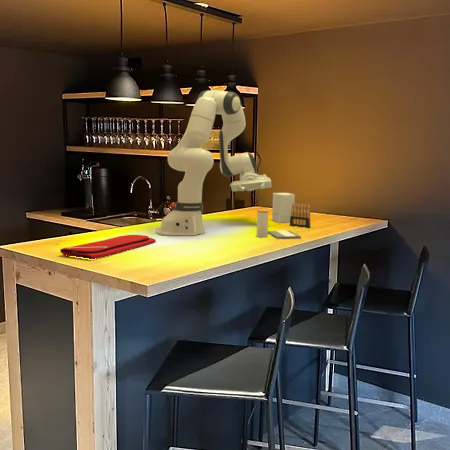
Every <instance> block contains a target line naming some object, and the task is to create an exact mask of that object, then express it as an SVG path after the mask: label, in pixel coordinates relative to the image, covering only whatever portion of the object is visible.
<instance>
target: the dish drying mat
mask: <svg viewBox="0 0 450 450" xmlns="http://www.w3.org/2000/svg"><path fill="white" fill-rule="evenodd" d="M156 242H157V241H156V239H155V238H153V237H150V236H148V235H143V234H124V235H119V236H115V237H110V238H107V239H103V240H98V241H93V242H89V243H83V244H77V245H73V246H69V247H64V248H63V247H62V248H61V249H60V250H59V252H60V253H61V255H63V256H65V255H67V256H76V257H83V258H89V259H95V258H100V257H103V258H106V257H105V256H107V257H110V256H109V255H111V256H113V254H114V255H118V254H121V253H124V251H125V252H128V251H131V249H132V250H134V249H138V248H142V247H146V246H149V245H151V244H155V243H156ZM127 250H128V251H127ZM117 253H118V254H117ZM67 256H66V257H67ZM100 259H101V258H100Z"/></svg>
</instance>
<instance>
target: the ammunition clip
mask: <svg viewBox="0 0 450 450" xmlns="http://www.w3.org/2000/svg"><path fill="white" fill-rule="evenodd" d="M289 226H290V227H295V226H297V228H303V227H305V229H310V228H311V206H310V203H308V204H306V203H297V202H295V204H294V203H292V209H291V216H290V222H289Z"/></svg>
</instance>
